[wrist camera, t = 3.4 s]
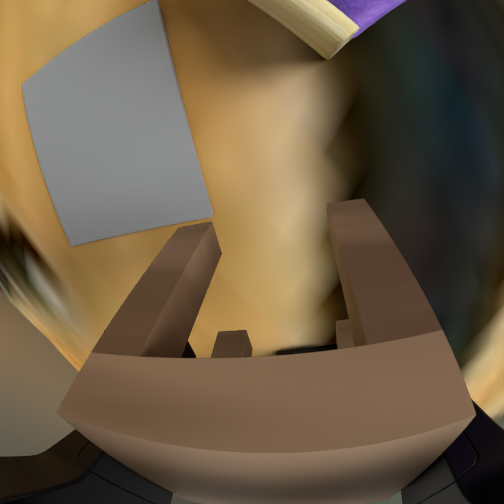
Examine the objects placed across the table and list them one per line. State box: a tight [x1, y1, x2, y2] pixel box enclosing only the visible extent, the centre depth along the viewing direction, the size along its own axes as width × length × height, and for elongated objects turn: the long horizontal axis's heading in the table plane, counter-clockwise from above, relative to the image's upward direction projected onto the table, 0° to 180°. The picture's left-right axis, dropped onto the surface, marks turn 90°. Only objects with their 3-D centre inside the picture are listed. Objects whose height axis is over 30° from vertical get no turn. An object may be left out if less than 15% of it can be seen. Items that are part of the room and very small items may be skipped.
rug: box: [22, 0, 214, 247], centre depth 17 cm, size 16×14×1 cm
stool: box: [57, 199, 476, 504], centre depth 7 cm, size 6×6×7 cm
